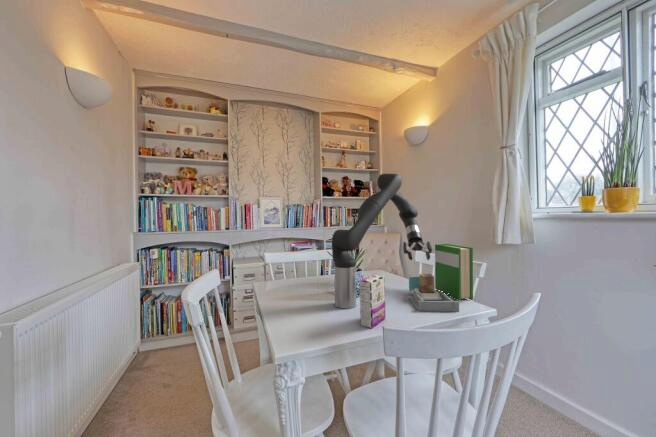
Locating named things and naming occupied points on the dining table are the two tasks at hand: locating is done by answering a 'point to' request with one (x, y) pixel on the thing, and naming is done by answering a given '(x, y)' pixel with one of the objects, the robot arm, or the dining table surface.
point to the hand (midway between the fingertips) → (419, 259)
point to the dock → (434, 303)
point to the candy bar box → (372, 300)
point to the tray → (425, 296)
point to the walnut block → (426, 283)
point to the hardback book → (454, 270)
